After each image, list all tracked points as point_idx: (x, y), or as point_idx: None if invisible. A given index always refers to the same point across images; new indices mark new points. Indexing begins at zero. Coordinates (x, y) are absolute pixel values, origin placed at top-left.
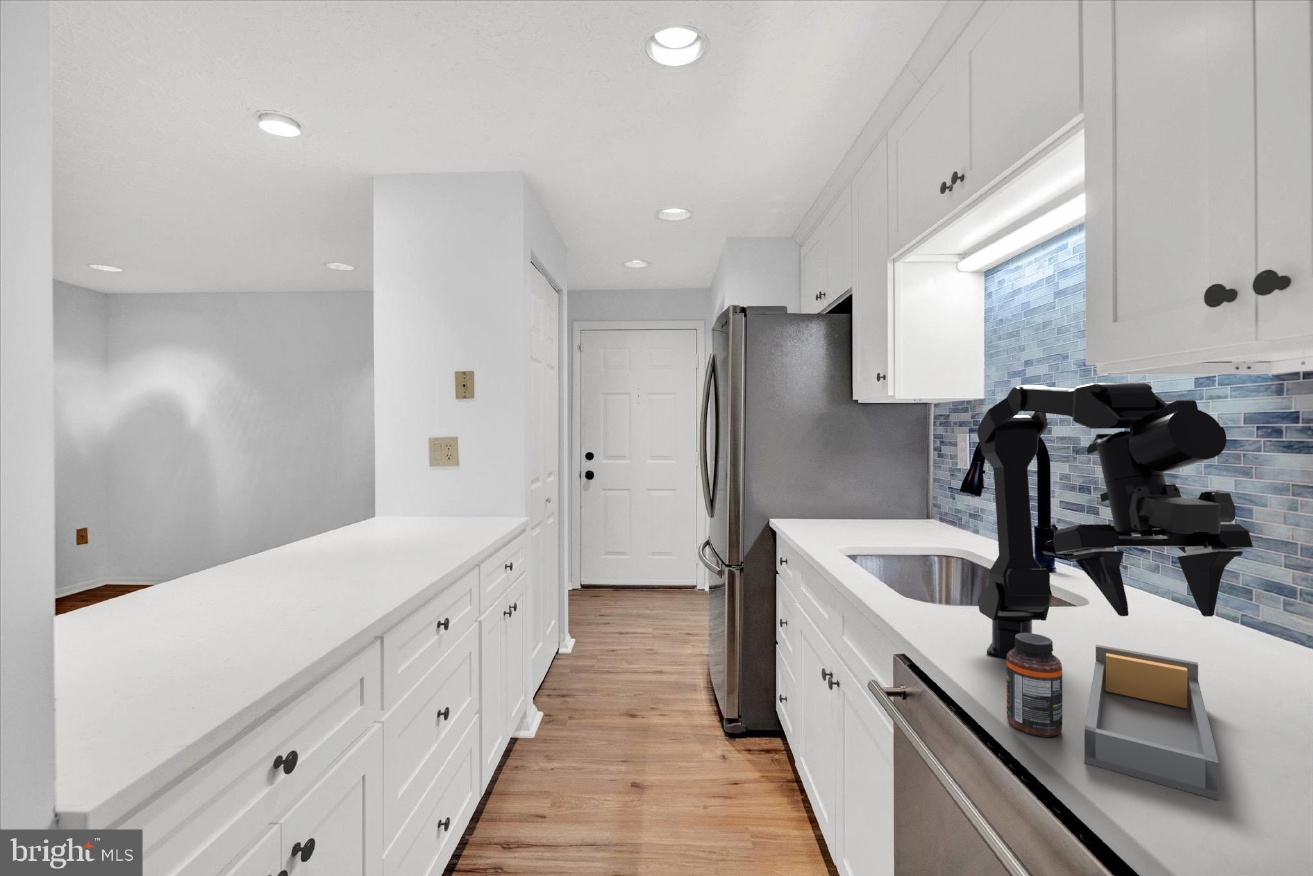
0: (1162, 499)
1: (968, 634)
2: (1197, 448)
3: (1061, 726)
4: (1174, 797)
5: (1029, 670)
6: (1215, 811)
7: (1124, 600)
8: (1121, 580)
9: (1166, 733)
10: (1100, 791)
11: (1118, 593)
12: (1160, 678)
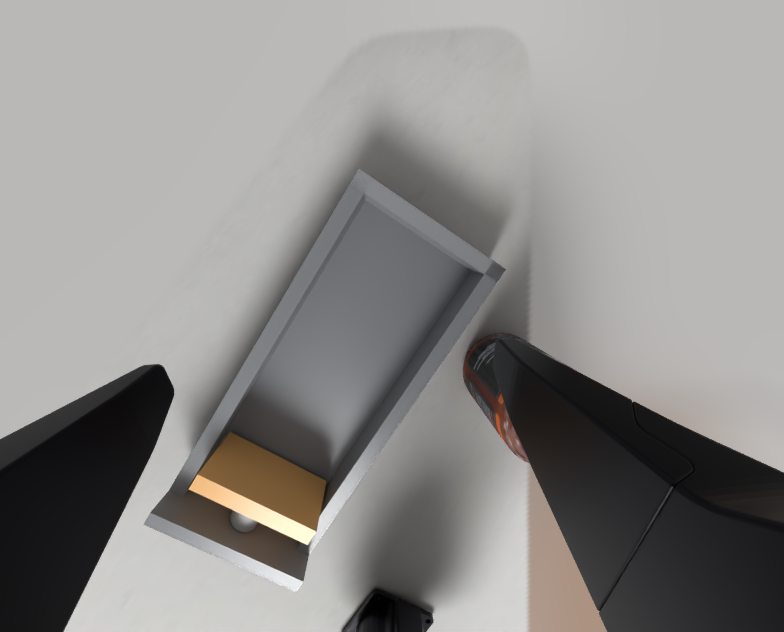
0: None
1: None
2: None
3: (476, 347)
4: (417, 184)
5: None
6: (384, 153)
7: (538, 362)
8: (608, 427)
9: (318, 348)
10: (510, 191)
11: (585, 377)
12: (246, 475)
